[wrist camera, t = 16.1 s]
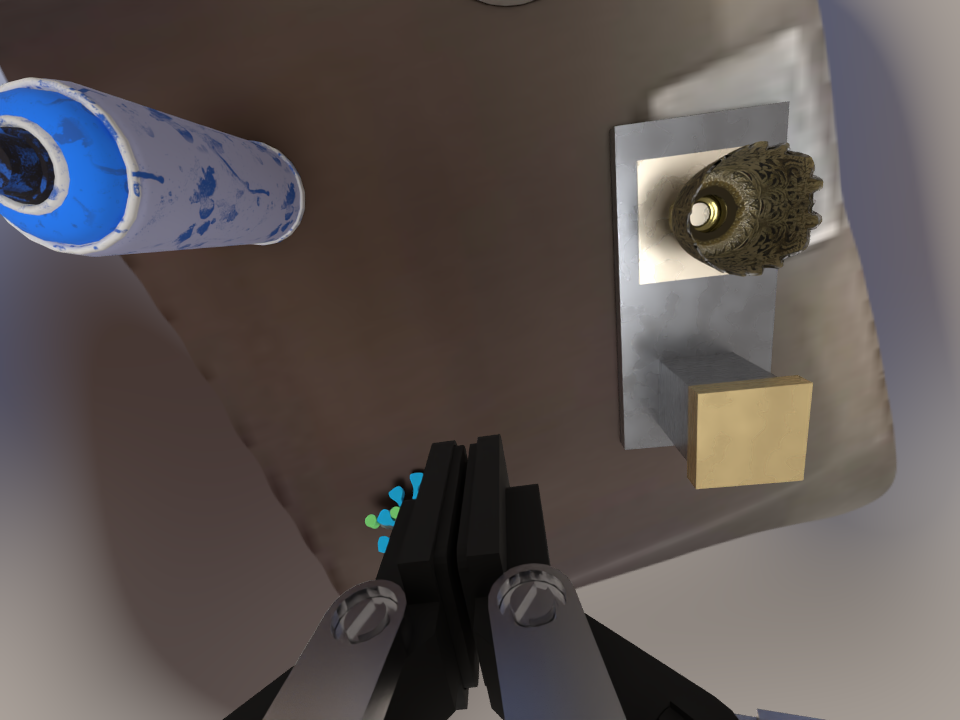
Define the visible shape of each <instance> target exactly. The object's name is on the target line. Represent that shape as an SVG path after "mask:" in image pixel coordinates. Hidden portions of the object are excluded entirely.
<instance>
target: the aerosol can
mask: <svg viewBox="0 0 960 720" xmlns="http://www.w3.org/2000/svg"><path fill="white" fill-rule="evenodd" d="M304 210H305V191H304V188H303V184H302V181H301V178H300V175H299V174H298V172H297V171H296V169H295V167H294V166H293V164H292V162H291V161H290V160H289V159H287V158H286V157H285V156H284V155H283V154H282V153H281V152H280V151H279V150H277V149H275V148H273V147H271V146H269V145H267V144H265V143H262V142H257V141H249V140H245V139H242V138H239V137H236V136H233V135H230V134H227V133H224V132H221V131H218V130H215V129H212V128H209V127H206V126H203V125H200V124H197V123H194V122H191V121H188V120H185V119H182V118H179V117H175V116H172V115H169V114H166V113H163V112H160V111H157V110H154V109H151V108H148V107H145V106H142V105H139V104H136V103H133V102H130V101H127V100H124V99H121V98H118V97H115V96H112V95H109V94H106V93H103V92H100V91H97V90H94V89H91V88H88V87H85V86H82V85H79V84H76V83H73V82H68V81H60V80H52V79H40V78H32V77H30V78H25V79H21V80H17V81H13V82H9V83H6V84H2V85H1V86H0V214H1V215H2V216H3V217H4V218H5V219H6V221H7V222H8V223H9V224H11V225H12V226H13V227H15V228H16V229H17V230H18V231H20V232H21V233H22V234H24V235H25V236H26V237H27V238H29V239H30V240H32V241H34V242H36V243H39V244H41V245H43V246H46V247H48V248H50V249H52V250H55V251H58V252H64V253H70V254H77V255H85V256H93V257H98V256H110V255H122V254H134V253H147V252H159V251H171V250H183V249H196V248H208V247H220V246H232V245H244V244H256V245H269V244H274V243H278V242H281V241H282V240H284V239H286V238H287V237H289V236H290V235H292V233H293V232H294V231H295V229H296V228H297V227H298V226H299V224H300V222H301V219H302V216H303V213H304Z"/></svg>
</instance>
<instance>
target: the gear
mask: <svg viewBox="0 0 960 720" xmlns="http://www.w3.org/2000/svg"><path fill="white" fill-rule="evenodd" d="M422 477H423V473H413V474H411V475H410V481H411V483H412V485H413V489H414V492H413V498H412V499H416V497H417V494H418V491H419V487H420V484H421V480H422ZM389 496H390V498H391V499H393V500H394V501H396V502H397V503H398V505H399V506H401V504H402V502H403V500H404V496H405V492H404V490H403V489H402V488H401V487H400V486H397V487H395V488H394V489H392V490H391V491H390V492H389ZM399 509H400V508H399V507H393V508H392V509H391V510H386V509H383V510H382V511H381V512H380V514H379V516H378V517H376V516H375V515H368V516H367V517H366V519H365V523H366V525H367V526H369V527H371V528H378V527H379V525H381V526H382V527H384V528H386V529H390V530H393V527H394V524H395V521H396V518H397V515H398V512H399ZM389 539H390V538H388V537H386V536H382V537H380V538H379V541H378V550H379V551H380V552H383V553H385V550H386V547H387V545H388V542H389Z"/></svg>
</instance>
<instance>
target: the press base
mask: <svg viewBox="0 0 960 720" xmlns="http://www.w3.org/2000/svg"><path fill="white" fill-rule="evenodd" d="M788 115H789V102H782V103H775V104H768V105H761V106H754V107H747V108H740V109H733V110H726V111H719V112H712V113H705V114H698V115H691V116H684V117H677V118H670V119H663V120H656V121H649V122H642V123H635V124H628V125H621V126H615V127H613V128H612V129H611V130H610V155H611V184H612V212H613V241H614V269H615V298H616V327H617V355H618V384H619V412H620V441H621V443H622V445H623V447H624V449H625V450H627V449H639V448H650V447H661V446H673V445H675V446H676V448H677V449H678V450H679V451H680V453H681V454H682V455H683V456H684V458H685V459H686V460H687V450H688V386H692V385H703V384H713V383H723V382H733V381H743V380H754V379H764V378H774V377H777V376H775V375H773V374H772V373H770V371H771V357H772V343H773V328H774V314H775V300H776V286H777V272H778V269H774V268H764V273H763V274H762V275H759V276H749V275H747V276H745V277H742V276H736V275H731V274H728V273H726V272H724V273H721V272H719V271H718V270H716V269H714V268H712V267H710V266H708V265H706V264H704V263H702V262H700V261H698V260H697V259H695V258H693V257H692V256H691V255H689V254H688V253H687V252H686V251H685V250H684V249H683V248H682V247H681V246H680V244H679V243H678V241H677V240H676V238H675V235H674V232H673V228H672V210H673V206H674V203H675V200H676V198H677V196H678V194H679V192H680V191H681V189H682V188H683V186H684V185H685V184H686V183H687V182H688V180H689V179H690V178H691V177H693V176H694V175H695V174H696V173H697V172H698V171H700V170H701V169H703V168H704V167H706V166H707V165H709V164H711V163H712V162H714V161H716V160H718V159H719V158H721V157H723V156H724V155H727V154H728V153H730V152H732V151H734V150H736V149H738V148H740V147H743V146H745V145H749V144H750V145H751V144H753V143H755V142H759V141H768V142H769V146H773V145H777V144H780V143H787V129H788ZM709 216H710V210H709V207H708V206H707V205H706V204H704V203H697V204H694V205H693V208H692V214H691V215H690V221H691V224H692V225H694V226H700V225H703V224H704V223H705V222H706V221H707V220H708V219H709Z"/></svg>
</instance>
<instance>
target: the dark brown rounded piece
mask: <svg viewBox="0 0 960 720" xmlns="http://www.w3.org/2000/svg"><path fill="white" fill-rule="evenodd" d="M788 148H790V145H789V143H780V144H777V145H773V146H769V142H768V141H759V142H755V143H753V144H751V145H750V144H749V145H745V146H743V147H740V148H738V149H736V150H734V151H732V152H730V153H728V154H727V155H724V156H723V157H721V158H719V159H718V160H716V161H714V162H712V163H711V164H709V165H707V166H706V167H704V168H703V169H701V170H700V171H698V172H697V173H696V174H695V175H694V176H693V177H691V178H690V179H689V180H688V182H687V183H686V184H685V185H684V186H683V188H682V189H681V191H680V192H679V194H678V196H677V198H676V200H675V203H674V206H673V210H672V228H673V232H674V235H675V238H676V240H677V241H678V243H679V244H680V246H681V247H682V248H683V249H684V250H685V251H686V252H687V253H688V254H689V255H691V256H692V257H693V258H695V259H697V260H698V261H700V262H702V263H704V264H706V265H708V266H710V267H712V268H714V269H716V270H718V271H719V272H721V273H724V272H726V273H728V274H731V275H736V276H742V277H745V276H747V275H749V276H759V275H762V274H763V273H764V268H774V269H779V268H781V267H782V266H783V262H784V260H783V259H785V258H787V257H791V256H794V255H796V254H798V253H800V252H802V251H804V250H805V249H806V248H807V247H808V244H809V241H810V232H811V230H813V229H816V228H817V227H818V226H819V225H820V223H821V222H822V216H821V215H819V214H818V213H817V212H814V211H813V210H812V207H813V205H814V204H815V200H814V199H813V193H814V192H816V191H818V190H819V191H820V190H821V189H822V187H823V180H822V179H821V178H820V177H817V176H815V175H814V171H815V165H814V162H813V160H812V157H810V156H809V155H806V154H803V153H800V152H793V151H789V150H788ZM697 203H704V204H706V205H707V206H708V207H709V210H710V216H709V219H708V220H707V221H706V222H705V223H704V224H703V225H700V226H694V225H692V224H691V221H690V215H691V214H692V208H693V205H694V204H697ZM812 211H813V212H812ZM814 213H815V214H814ZM816 214H817V215H816Z"/></svg>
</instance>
